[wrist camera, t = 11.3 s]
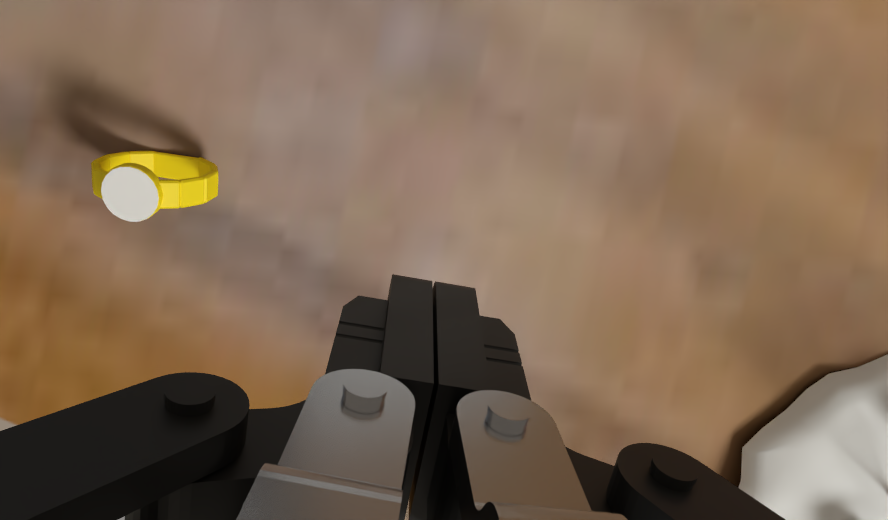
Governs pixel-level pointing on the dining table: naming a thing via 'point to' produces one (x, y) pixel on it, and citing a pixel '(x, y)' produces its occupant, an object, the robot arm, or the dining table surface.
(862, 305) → the dining table surface
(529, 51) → the dining table surface
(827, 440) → the figurine
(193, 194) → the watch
